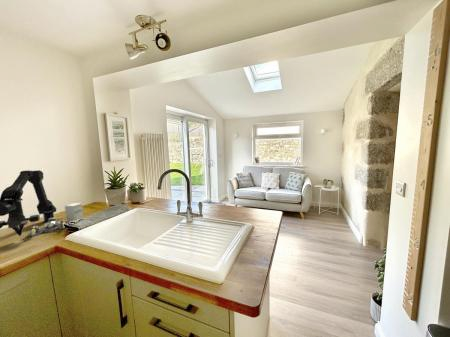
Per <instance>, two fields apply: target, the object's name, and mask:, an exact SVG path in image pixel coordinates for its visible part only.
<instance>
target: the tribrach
mask: <svg viewBox="0 0 450 337" xmlns="http://www.w3.org/2000/svg"><path fill="white" fill-rule="evenodd" d="M57 230H59V231H60V230H68V228H65V227H64V228H63V226H61V223H60V222H59V221H50V222H44V226H42V227H41V228H39V231H38V232H36V233H35V234H33V235H32V233H30V232H28V233H27V236H29V237H32V238H33V237H36V236H39V235H42V234H46V233H50V232H55V231H57Z"/></svg>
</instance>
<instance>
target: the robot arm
mask: <svg viewBox="0 0 450 337" xmlns="http://www.w3.org/2000/svg"><path fill="white" fill-rule="evenodd" d="M43 180H44V172H43V171H42V170H41V169H38V170H29V169H28V170H22V171H20V172H19V175H18V176H17V177H16V179H15V180H14V181H13V183H12V184H11V185H10V186H8V187H6V188H5V189H4V190H3V191H2V192H1V194H0V217H3V216H6V215H8V217H7V220H1V221H0V229H1V228H3V227H4V226H7V228H8V229H12V230H13V231H14V232H15V233H16V234H17V235H18V236H20V237H21V236H22V234H23V230H24V227H25V225H27V224H28V222H31V223H34V222H35V223H36V222H38V221H40V219H41V216H40V215H43V221H42V222H43V223H44V224H45V223H47V222H48V219H49V218H53V217H55V216H54V213H55V212H57V207H56V206H55V205H54V203H53V202H52V201H51V200H50V199H48V196H47V194H46V191H45V187H44V184H43ZM28 182H29V183H30V184H32V186H33V189H34V192H35V195H36V197H37V201H38V203H37V205H36V209H37V212H38V214H34V215H33V214H32V215H30V216H29V217H26V215H25V214H24V211H23V210H24V209H23V206H22V201H24V199H23V198H22V196H23V194H24V190H23V188H25V185H26V184H27V183H28Z"/></svg>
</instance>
